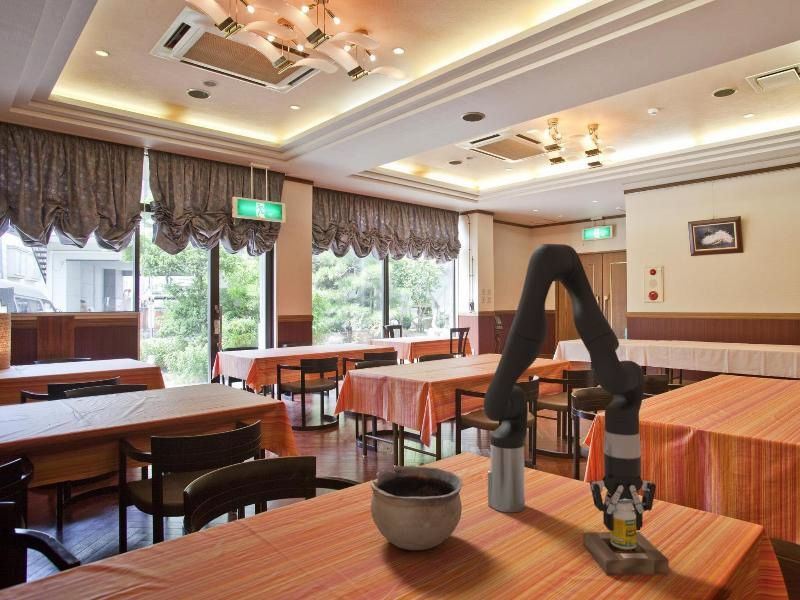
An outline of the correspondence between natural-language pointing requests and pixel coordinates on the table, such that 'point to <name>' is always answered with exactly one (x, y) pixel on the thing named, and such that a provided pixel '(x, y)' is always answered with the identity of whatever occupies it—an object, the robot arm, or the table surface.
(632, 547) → the supplement bottle
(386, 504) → the ceramic bowl
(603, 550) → the socket holder
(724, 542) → the table surface
